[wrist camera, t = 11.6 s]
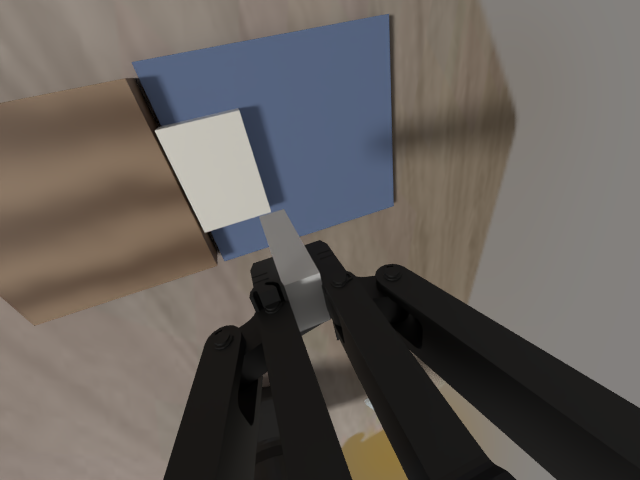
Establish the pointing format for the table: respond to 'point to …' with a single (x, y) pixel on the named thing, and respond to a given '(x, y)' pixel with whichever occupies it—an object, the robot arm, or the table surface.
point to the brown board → (89, 202)
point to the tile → (215, 168)
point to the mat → (294, 119)
